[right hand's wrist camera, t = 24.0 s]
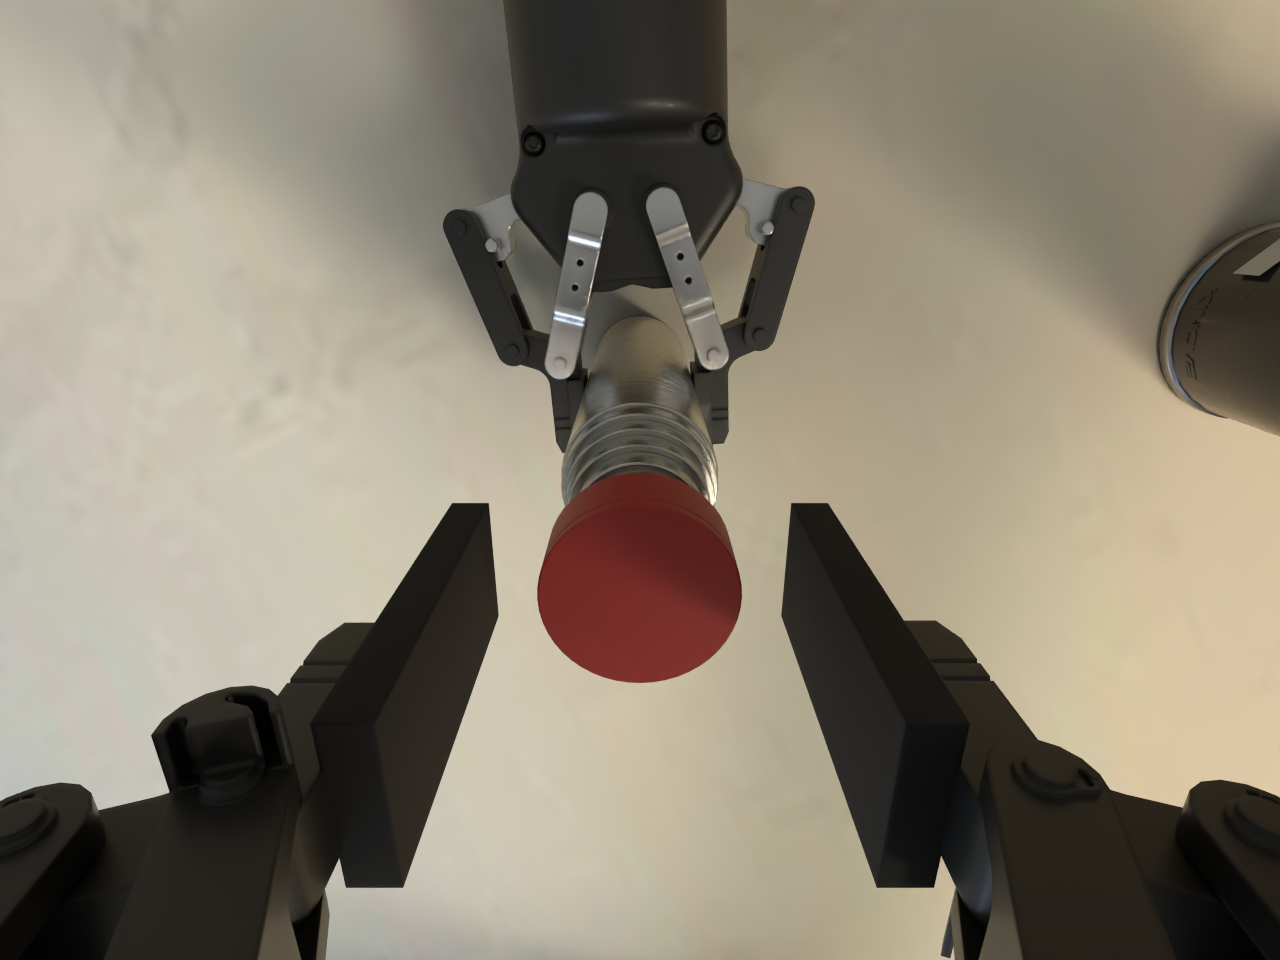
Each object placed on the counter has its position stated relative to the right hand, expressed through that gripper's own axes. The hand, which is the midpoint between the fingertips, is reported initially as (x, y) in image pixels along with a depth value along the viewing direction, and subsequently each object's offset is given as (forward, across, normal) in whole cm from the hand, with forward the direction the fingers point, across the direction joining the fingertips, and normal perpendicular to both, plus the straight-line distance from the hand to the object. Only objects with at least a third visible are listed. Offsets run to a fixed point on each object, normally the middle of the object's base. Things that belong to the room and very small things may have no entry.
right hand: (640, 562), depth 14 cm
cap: (-1, 0, 0) cm, 1 cm away
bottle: (+21, 0, 0) cm, 21 cm away
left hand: (+15, 0, -3) cm, 15 cm away
